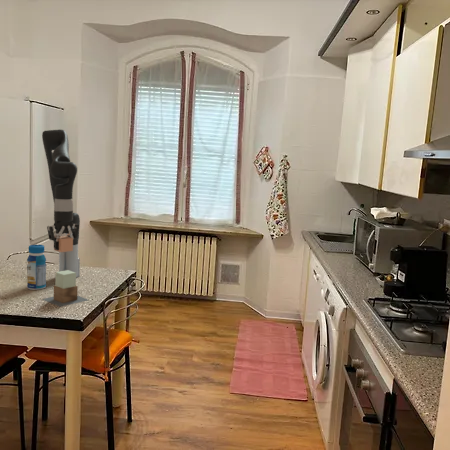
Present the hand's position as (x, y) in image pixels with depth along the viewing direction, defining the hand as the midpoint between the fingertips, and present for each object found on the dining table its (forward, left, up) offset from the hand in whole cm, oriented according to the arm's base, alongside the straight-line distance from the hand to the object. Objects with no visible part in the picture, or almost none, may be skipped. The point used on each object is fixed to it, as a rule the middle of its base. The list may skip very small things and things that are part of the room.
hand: (63, 249), depth 196 cm
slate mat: (-1, +1, -23) cm, 23 cm away
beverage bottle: (-2, -24, -23) cm, 33 cm away
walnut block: (-1, +1, -22) cm, 22 cm away
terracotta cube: (0, 0, -1) cm, 1 cm away
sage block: (-1, +1, -16) cm, 16 cm away
